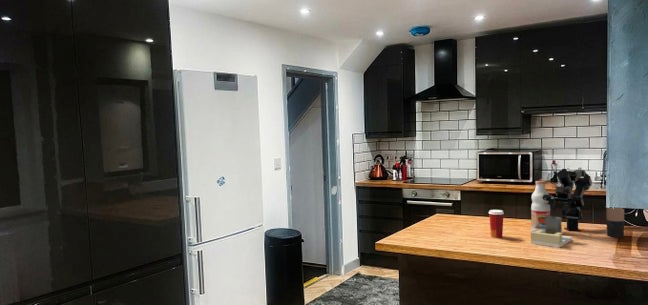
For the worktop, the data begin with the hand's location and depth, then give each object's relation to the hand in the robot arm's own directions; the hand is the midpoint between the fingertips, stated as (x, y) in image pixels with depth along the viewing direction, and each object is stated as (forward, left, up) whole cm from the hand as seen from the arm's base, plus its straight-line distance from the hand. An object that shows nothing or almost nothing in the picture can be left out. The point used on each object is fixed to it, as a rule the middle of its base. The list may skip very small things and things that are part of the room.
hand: (559, 213), depth 227 cm
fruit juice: (-14, -4, -13) cm, 19 cm away
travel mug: (-1, +28, -13) cm, 31 cm away
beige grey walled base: (+9, -7, -13) cm, 17 cm away
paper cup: (-3, -31, -13) cm, 34 cm away
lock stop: (+7, -6, -11) cm, 14 cm away
